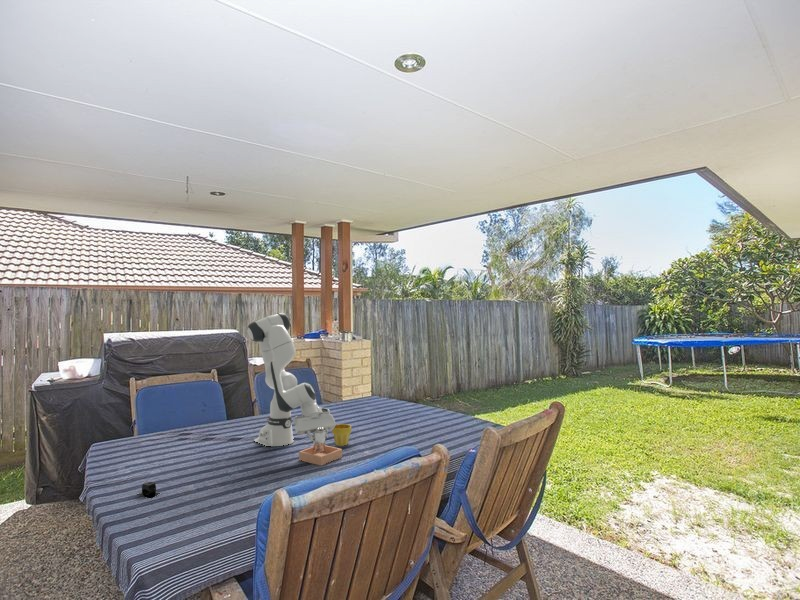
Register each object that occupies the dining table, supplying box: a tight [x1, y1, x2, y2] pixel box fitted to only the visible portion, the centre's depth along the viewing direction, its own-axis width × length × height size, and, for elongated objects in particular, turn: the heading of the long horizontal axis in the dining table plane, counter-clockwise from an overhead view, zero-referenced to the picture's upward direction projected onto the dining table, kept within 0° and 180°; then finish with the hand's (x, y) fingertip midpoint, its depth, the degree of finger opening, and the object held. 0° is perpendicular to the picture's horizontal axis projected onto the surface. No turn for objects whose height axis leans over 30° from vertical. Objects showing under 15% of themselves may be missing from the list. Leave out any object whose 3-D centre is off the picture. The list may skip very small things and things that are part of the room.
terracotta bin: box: [298, 444, 343, 466], centre depth 214 cm, size 15×15×4 cm
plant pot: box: [331, 423, 352, 447], centre depth 237 cm, size 10×10×10 cm
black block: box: [136, 481, 161, 499], centre depth 171 cm, size 12×7×5 cm, turn 65°
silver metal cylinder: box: [312, 427, 326, 452], centre depth 213 cm, size 6×6×11 cm
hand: (319, 438), depth 213 cm, fingers closed on silver metal cylinder, 6 cm apart
